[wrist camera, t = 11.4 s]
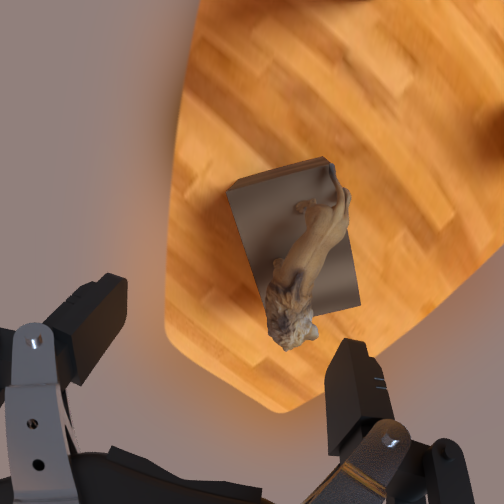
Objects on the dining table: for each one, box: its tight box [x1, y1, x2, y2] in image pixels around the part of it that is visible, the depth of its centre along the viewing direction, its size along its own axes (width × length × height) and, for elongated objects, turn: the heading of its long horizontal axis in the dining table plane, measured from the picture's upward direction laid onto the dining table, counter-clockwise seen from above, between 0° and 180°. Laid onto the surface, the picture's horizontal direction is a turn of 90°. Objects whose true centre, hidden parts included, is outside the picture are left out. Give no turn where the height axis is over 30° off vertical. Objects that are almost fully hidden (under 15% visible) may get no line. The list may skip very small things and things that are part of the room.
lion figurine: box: [265, 163, 351, 352], centre depth 26 cm, size 15×5×9 cm, turn 167°
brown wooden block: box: [226, 156, 361, 317], centre depth 34 cm, size 15×10×8 cm, turn 17°
